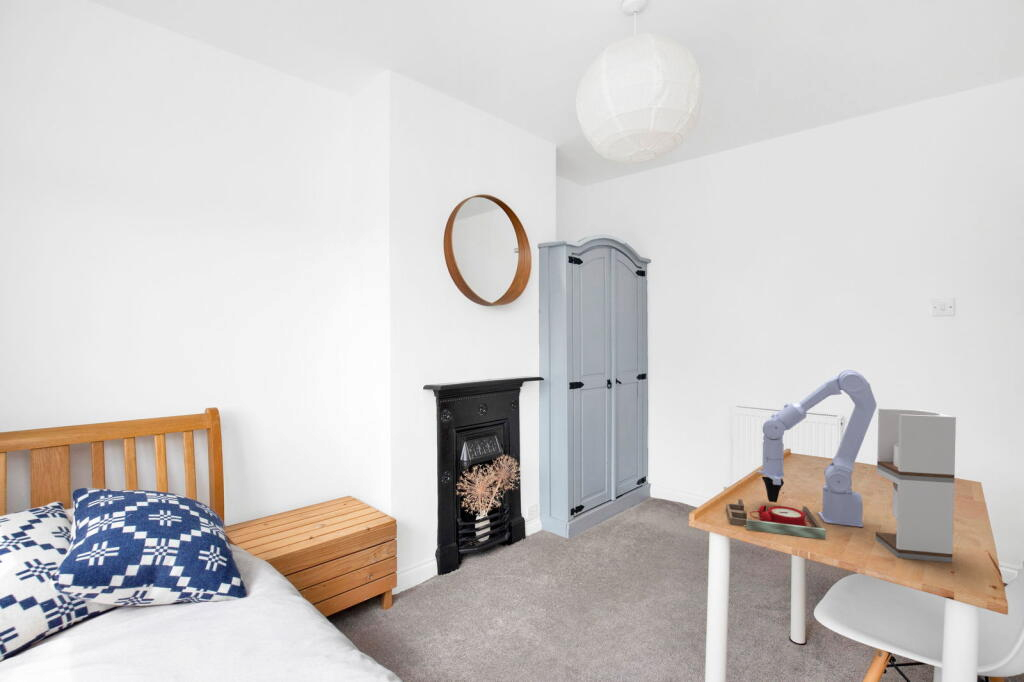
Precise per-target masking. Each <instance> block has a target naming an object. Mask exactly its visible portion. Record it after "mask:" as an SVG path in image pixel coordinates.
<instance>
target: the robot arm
mask: <svg viewBox="0 0 1024 682" xmlns="http://www.w3.org/2000/svg"><path fill="white" fill-rule="evenodd" d="M841 391H843V393H845V394H847V395H848V397H849V398H850V400H851V401H852V402H853V404H854V407H853V410H852V413H851V414H850V418H849V419H848V423H847V426H846V428H845V430H844V433H843V436H842V438H841V441H840V443H839V446H838V449H837V451H836V454H835V455H834V457H833V458H832V460H831V462H830V464H828V465H827V466H826V467H825V468H824V471H823V472H824V474H823V475H824V477H825V484H824V485H823V486H822V508H821V509H822V511H818V512H817V514H818V516H820V518H821V519H822V521H823V522H824V523H826V524H834V525H843V526H851V527H858V528H859V527H860V528H861V527H862V528H863V527H864V525H863V511H864V509H863V505H864V503H863V498H862V495H861V493H860V492H859V491H853V489H852V485H853V480H852V474H853V471H854V466H855V461H856V459H857V457H858V454H859V452H860V449H861V447H862V444H863V442H864V439H865V437H866V434H867V432H868V429H869V427H870V424H871V421H872V419H873V417H874V414H875V411H876V409H877V401H876V399H875V396H874V393H873V391H872V387H871V383H870V382H868V380H867V379H866V378H865V377H864V376H863V375H862V374H861V373H859V372H858V371H856V370H852V369H847V370H843V371H842V372H840V373H839V374H838V375H835V376H834V377H831V378H830V379H828V380H826V381H825V382H823V383H822V384H821V385H820V386H818V387H817V388H816V389H814V390H813V391H812V392H811V393H810V394H808V395H807V396H806V397H805V398H803V399H802V400H801V401H799V402H790V403H785V404H784V405H783V408H781V410H779V411H778V412H777V413H773V414H771V415H770V417H771V418H768V419H767V420H765V422H764V423H763V426H762V433H763V437H762V439H763V442H762V469H759V470H758V471H757V473H758V474H760V475H763V476H761V479H762V481H763V482H764V486H765V490H766V496H767V499H768V502H769V503H777V502H778V499H779V495H780V492H781V489H782V487H783V486H784V484H785V481H784V479H783V477H785V473H784V454H785V453H784V448H785V447H784V443H783V442H784V440H783V439H784V438H783V437H784V434H785V431H789V430H791V429H792V428H793V427H795V426H796V425H798V424H799V423H801V422H802V421H803V420H805V419H806V418H807V412H808V411H810V410H811V409H813V407H815V406H817V405H818V404H819V403H821V402H822V401H824V400H826V399H827V398H829V397H830V396H838V395H842V392H841Z"/></svg>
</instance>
